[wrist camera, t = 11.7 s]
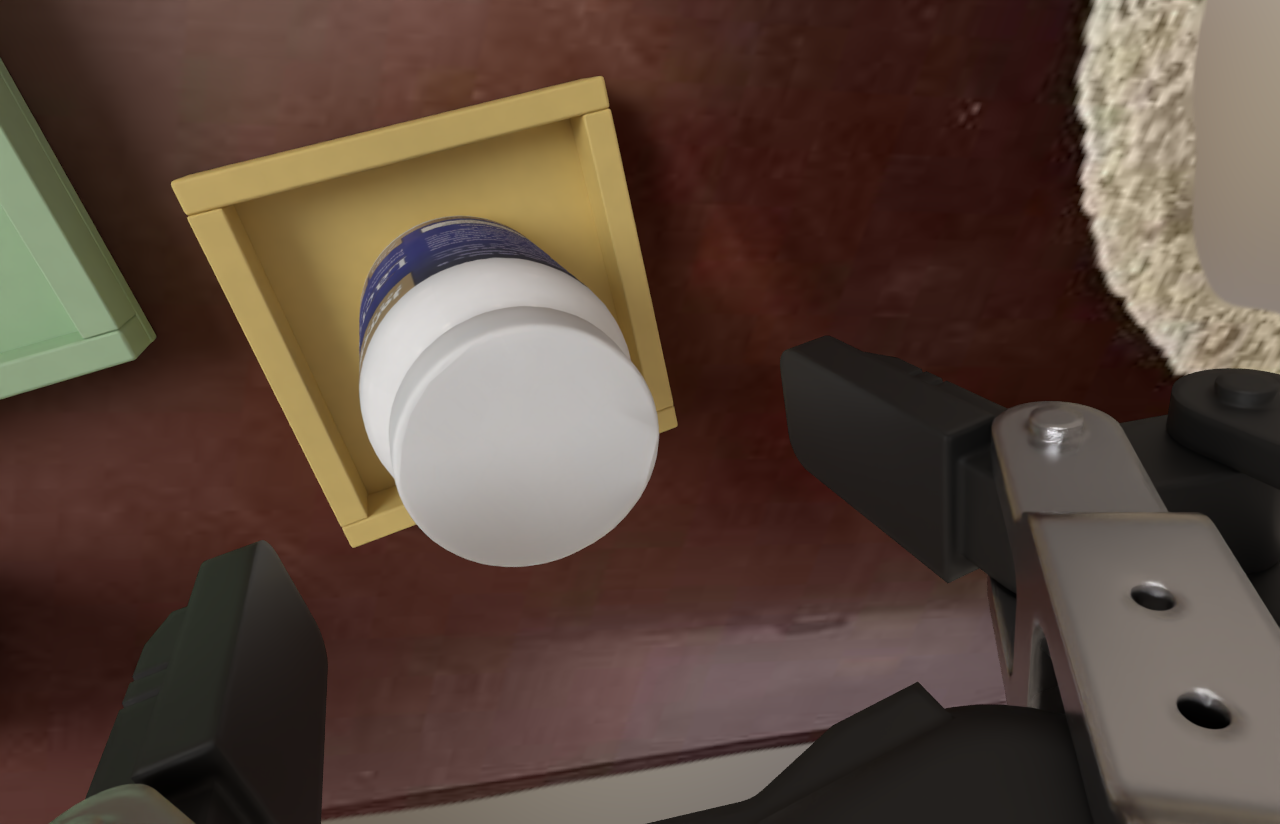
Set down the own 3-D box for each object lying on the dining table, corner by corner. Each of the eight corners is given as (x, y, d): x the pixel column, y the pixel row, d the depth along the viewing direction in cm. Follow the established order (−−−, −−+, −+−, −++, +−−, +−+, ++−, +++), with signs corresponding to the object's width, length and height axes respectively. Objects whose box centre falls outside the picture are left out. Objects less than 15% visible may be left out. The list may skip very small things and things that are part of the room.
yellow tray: (186, 175, 18) (167, 181, 16) (583, 78, 20) (604, 74, 18) (352, 516, 22) (352, 549, 21) (656, 405, 25) (679, 427, 23)
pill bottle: (345, 213, 19) (335, 299, 10) (556, 211, 21) (698, 280, 12) (371, 414, 21) (380, 624, 12) (559, 394, 23) (682, 565, 14)
